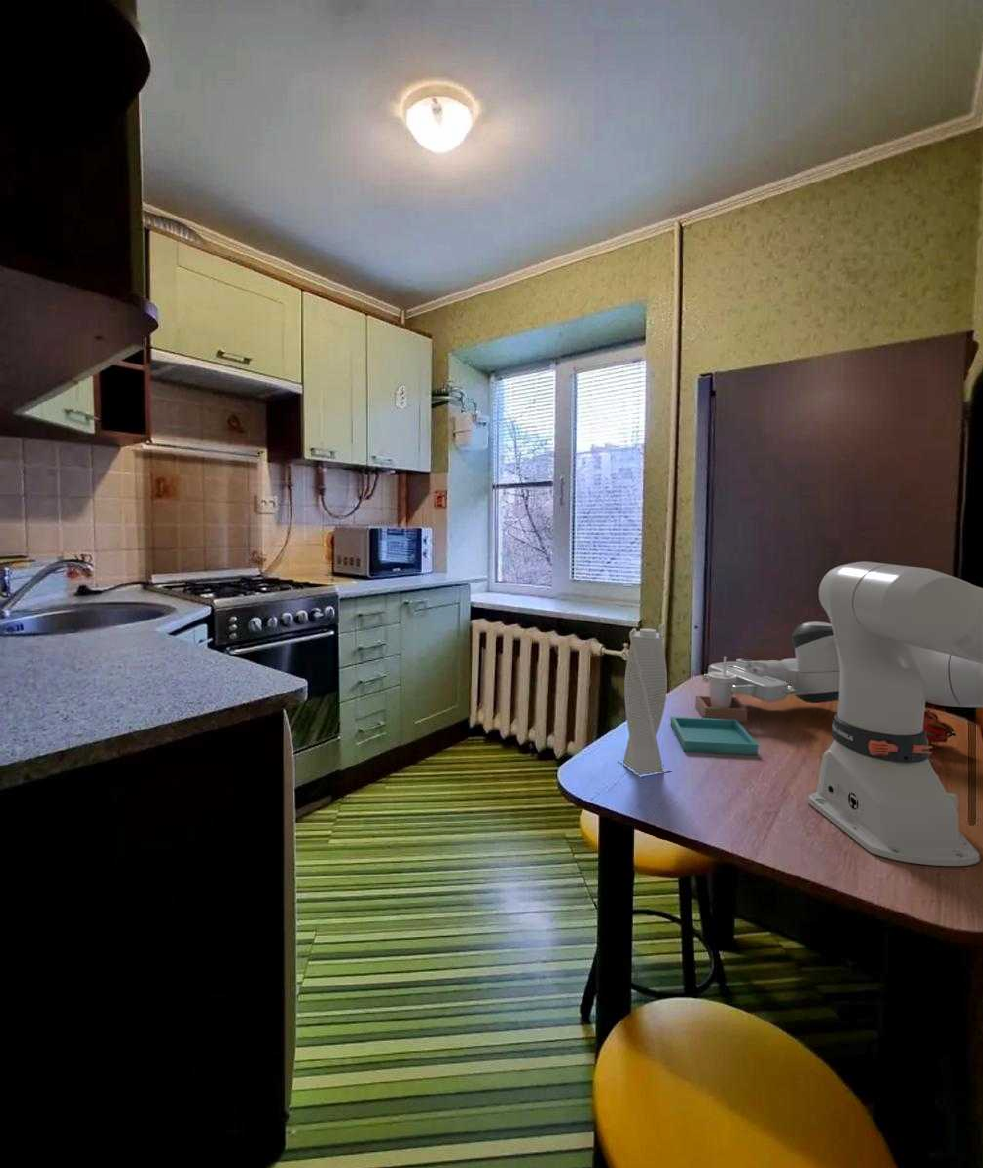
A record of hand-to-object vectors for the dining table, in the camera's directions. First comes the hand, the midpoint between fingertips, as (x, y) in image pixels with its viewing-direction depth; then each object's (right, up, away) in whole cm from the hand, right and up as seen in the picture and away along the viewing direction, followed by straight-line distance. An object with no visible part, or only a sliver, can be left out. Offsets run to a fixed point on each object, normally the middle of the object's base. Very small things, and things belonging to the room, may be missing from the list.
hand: (718, 684), depth 131 cm
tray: (-7, -9, -14) cm, 18 cm away
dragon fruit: (+35, -10, -15) cm, 39 cm away
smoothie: (+1, -8, +1) cm, 8 cm away
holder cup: (+1, -7, +1) cm, 8 cm away
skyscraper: (-25, -11, -28) cm, 39 cm away
